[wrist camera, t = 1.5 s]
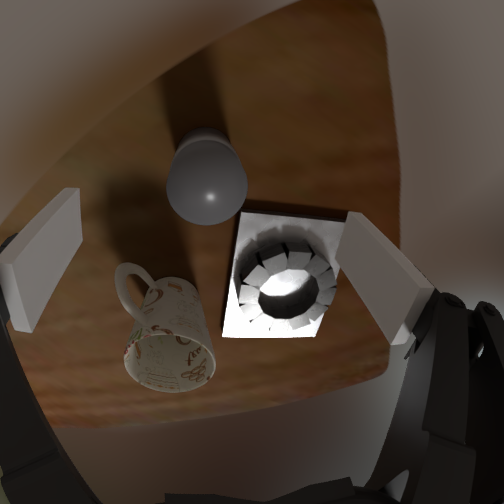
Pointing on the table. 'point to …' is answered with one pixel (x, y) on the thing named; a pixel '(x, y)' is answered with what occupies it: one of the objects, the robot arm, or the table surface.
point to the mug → (166, 334)
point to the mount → (281, 274)
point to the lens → (206, 178)
